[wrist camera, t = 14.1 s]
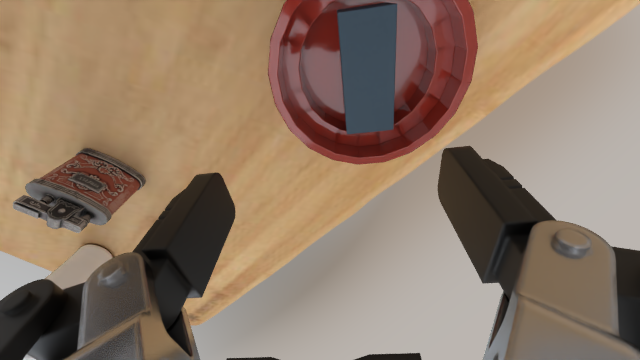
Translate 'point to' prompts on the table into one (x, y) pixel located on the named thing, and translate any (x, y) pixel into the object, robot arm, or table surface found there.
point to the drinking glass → (78, 268)
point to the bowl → (410, 75)
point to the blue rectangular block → (368, 66)
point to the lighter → (80, 191)
